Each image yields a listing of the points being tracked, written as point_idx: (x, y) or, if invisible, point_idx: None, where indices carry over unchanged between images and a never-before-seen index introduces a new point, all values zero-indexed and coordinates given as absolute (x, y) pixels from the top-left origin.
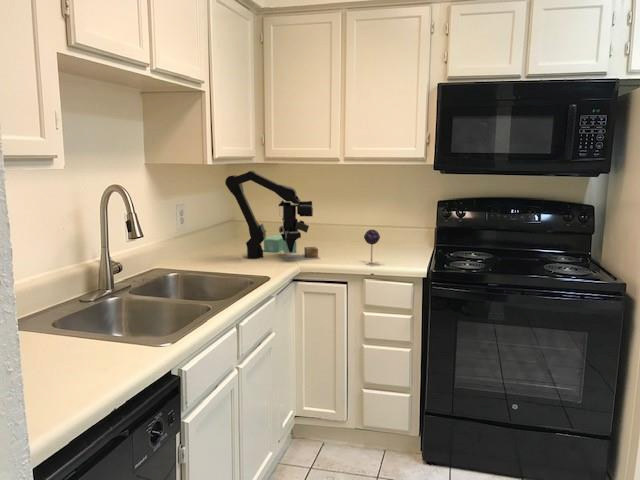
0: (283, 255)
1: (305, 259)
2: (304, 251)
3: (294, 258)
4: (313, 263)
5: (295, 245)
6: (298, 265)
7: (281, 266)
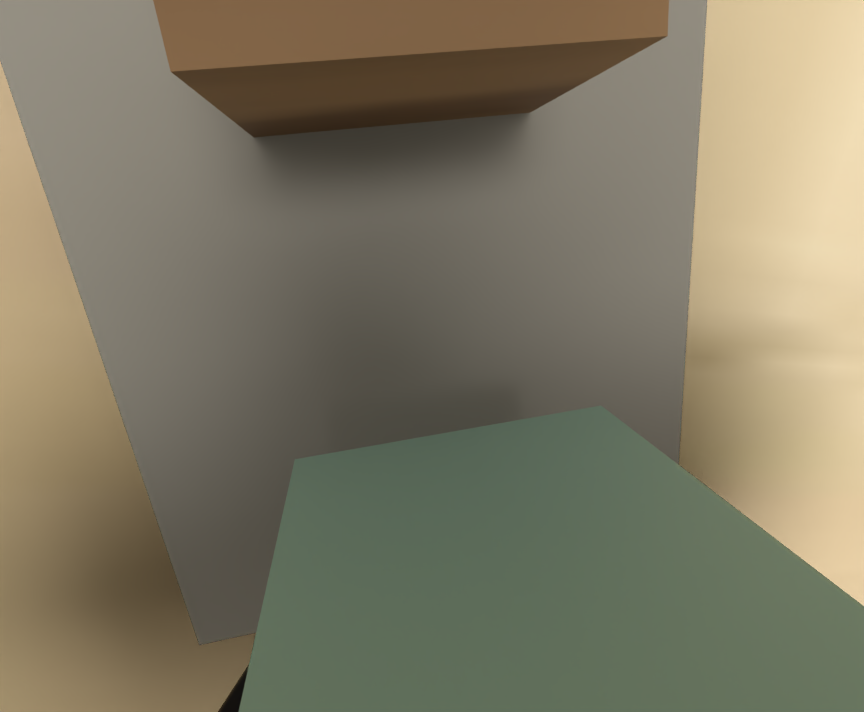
0: (196, 594)
1: (661, 177)
2: (226, 114)
3: (517, 396)
4: (811, 35)
5: (772, 573)
6: (848, 337)
7: (813, 559)
